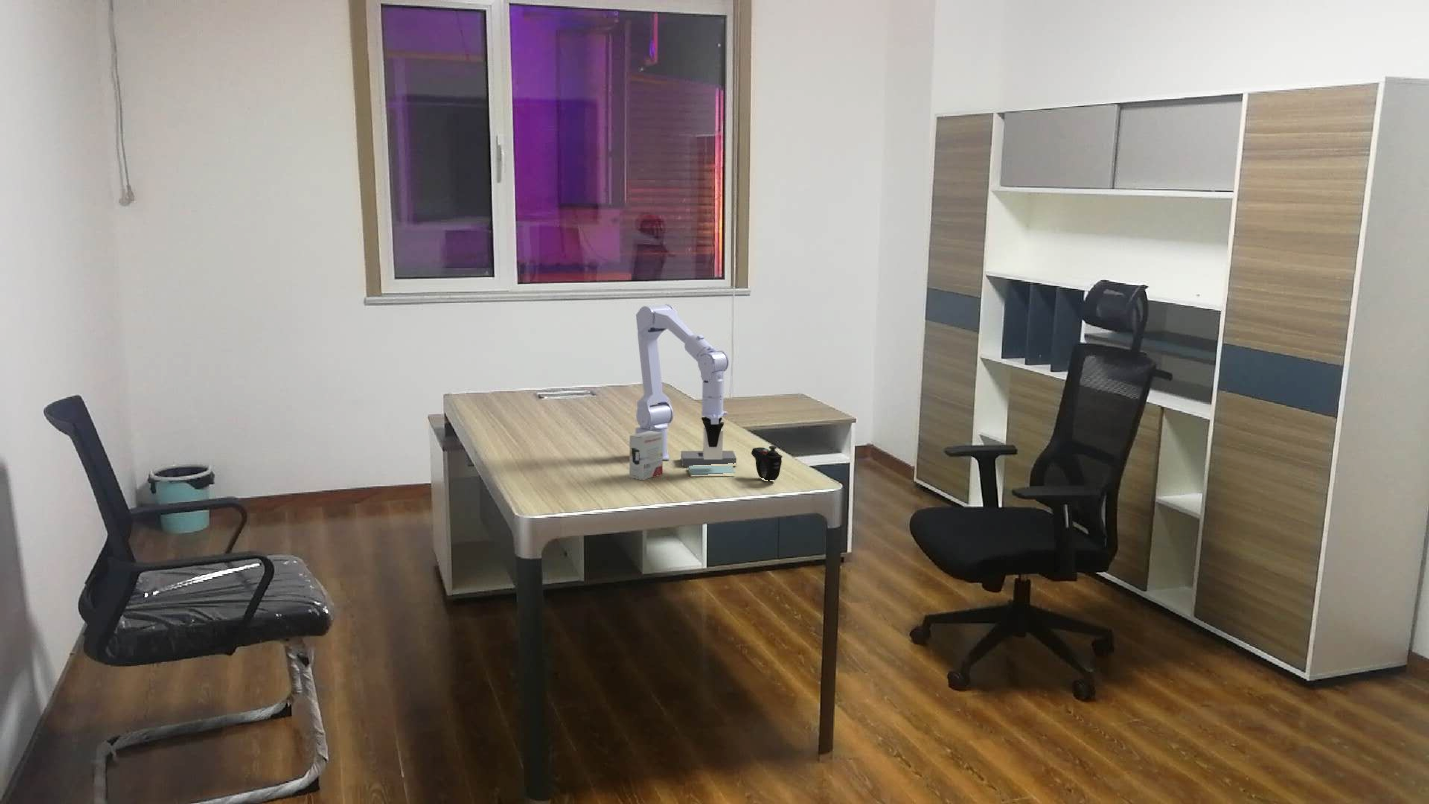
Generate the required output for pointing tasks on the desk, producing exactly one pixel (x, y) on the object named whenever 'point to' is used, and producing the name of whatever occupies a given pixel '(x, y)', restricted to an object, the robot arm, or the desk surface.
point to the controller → (767, 462)
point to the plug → (712, 451)
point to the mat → (710, 470)
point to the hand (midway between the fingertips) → (712, 444)
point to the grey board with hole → (697, 459)
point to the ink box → (646, 455)
